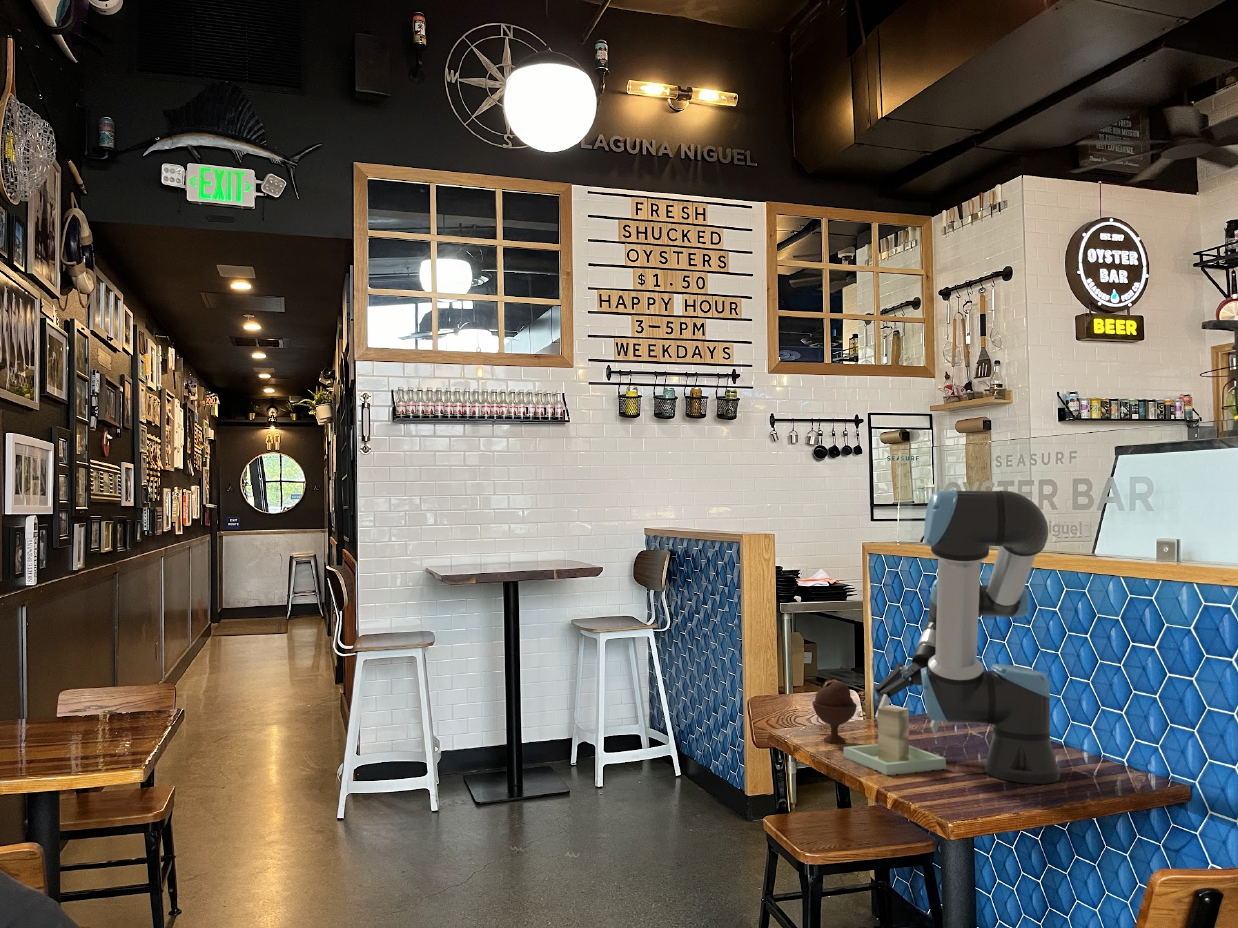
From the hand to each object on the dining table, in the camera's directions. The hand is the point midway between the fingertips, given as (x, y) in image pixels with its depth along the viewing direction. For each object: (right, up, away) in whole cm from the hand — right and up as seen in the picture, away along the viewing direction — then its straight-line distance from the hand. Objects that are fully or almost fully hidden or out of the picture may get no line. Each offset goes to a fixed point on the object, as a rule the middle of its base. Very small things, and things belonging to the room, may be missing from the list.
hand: (905, 724), depth 214 cm
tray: (-4, -7, -5) cm, 10 cm away
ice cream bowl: (-13, -9, +15) cm, 22 cm away
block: (-4, -7, -5) cm, 10 cm away
